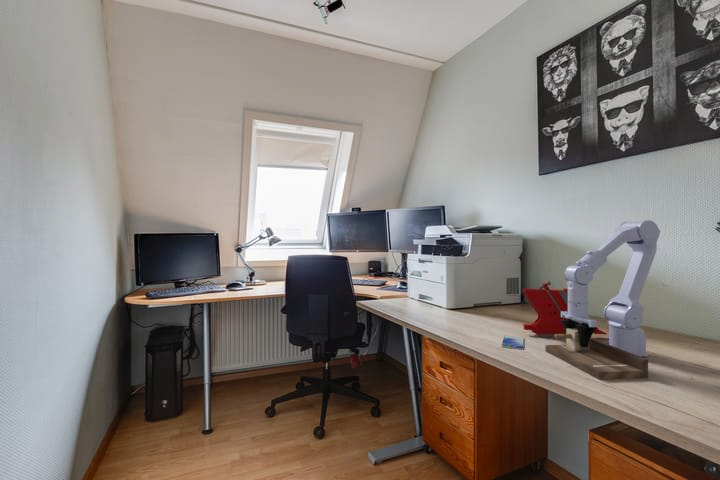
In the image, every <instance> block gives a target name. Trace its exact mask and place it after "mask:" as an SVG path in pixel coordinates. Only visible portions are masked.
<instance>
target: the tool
mask: <svg viewBox="0 0 720 480" xmlns="http://www.w3.org/2000/svg"><path fill="white" fill-rule="evenodd" d="M551 285H552V283H551V281H547V282H544V283H542V284H541V286H539V287H538V288H523V289H522V293H523V294H524V296H525V297H526V299H527V300H528V302H529V303H530V305H531V306H532V308H533V310H534V312H535V313H536V314H537V318H536V319H535V320H534V321H533V322H531V323H523V325H522V326H523V330H524V331H531V332H532V333H533V334H535V335H536V336H538V337H539V338H554V339H556V338H555V334H566V331H565V328H564V326H563V324H562V323H561V320H562V319H565V317H564V318H563V317H561V311H567V312H568V288H563V289H553V288H552V289H551V288H550V287H549V286H551ZM579 324H582V323H579ZM593 334H594V335H608V333H607V332H605V331H603V330H600V329H599V328H598V326H597V327H596V330H595V331H594V332H593Z"/></svg>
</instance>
